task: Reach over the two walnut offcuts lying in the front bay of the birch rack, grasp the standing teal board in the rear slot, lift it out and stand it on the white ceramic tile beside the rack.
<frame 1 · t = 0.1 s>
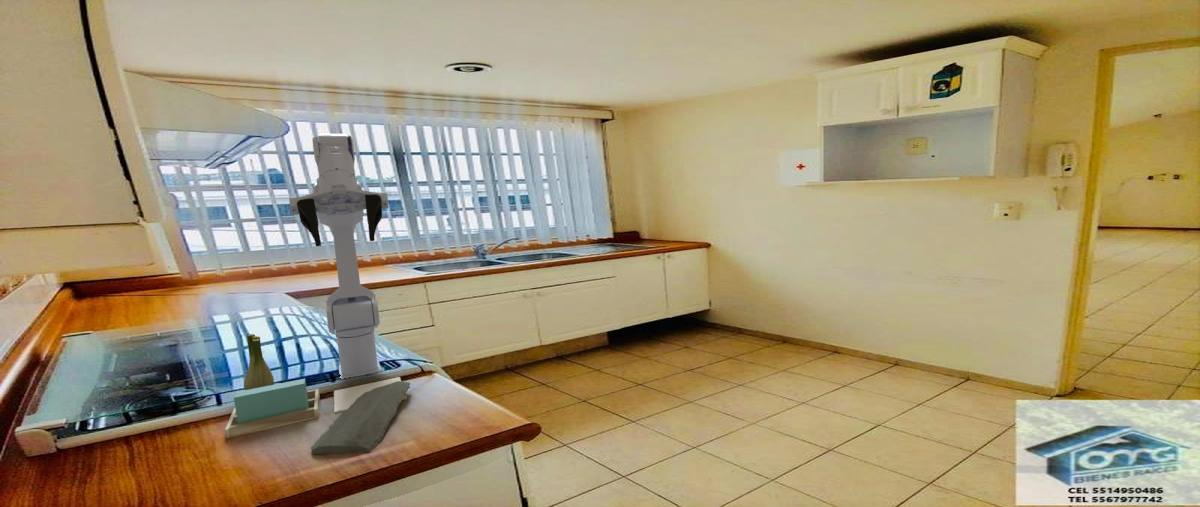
hand: (345, 239, 77), 32 cm above the counter, tool tilted 50°, fingers open, 7 cm apart
fennel bulb: (260, 393, 97), on the counter
stone slab: (368, 418, 84), on the counter, touching tile
tile: (370, 396, 93), on the counter
rack: (277, 417, 86), on the counter
offcut low: (278, 410, 88), resting on rack, touching offcut top
board: (275, 420, 84), resting on rack
offcut top: (281, 403, 88), point 2 cm above the counter, touching offcut low
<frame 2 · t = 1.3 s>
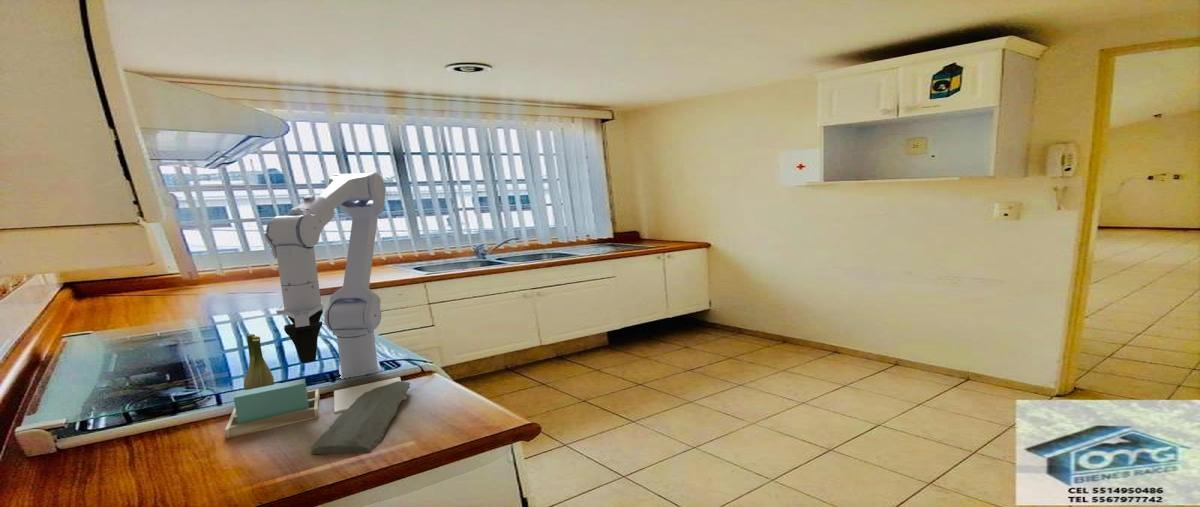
hand: (309, 354, 88), 10 cm above the counter, tool pointing down, fingers open, 7 cm apart
nothing on the counter moved.
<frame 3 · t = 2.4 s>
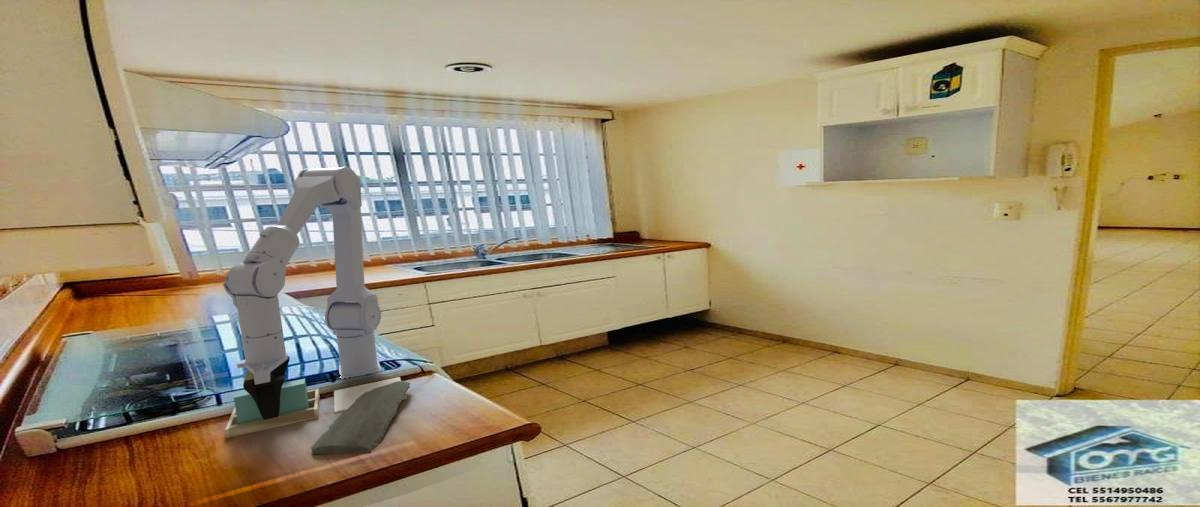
hand: (273, 408, 83), 3 cm above the counter, tool pointing down, fingers open, 7 cm apart
offcut top: (281, 403, 88), point 2 cm above the counter, touching gripper, offcut low
everything else where it was.
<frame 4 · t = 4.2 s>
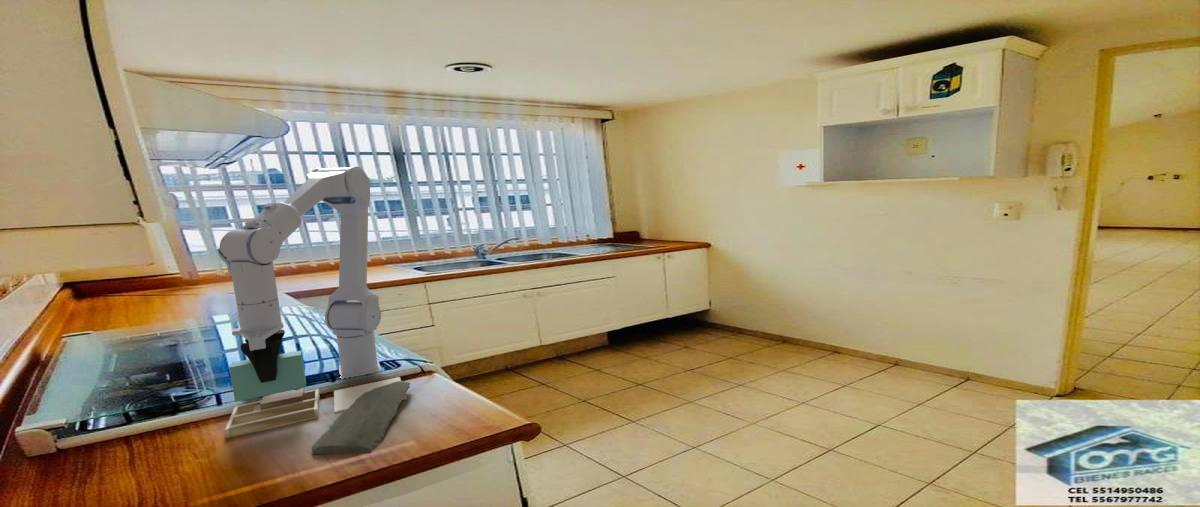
hand: (269, 377, 83), 8 cm above the counter, tool pointing down, fingers closed on board, 2 cm apart
board: (272, 391, 83), point 6 cm above the counter, touching gripper
offcut top: (283, 402, 88), point 2 cm above the counter, touching offcut low
everything else where it was.
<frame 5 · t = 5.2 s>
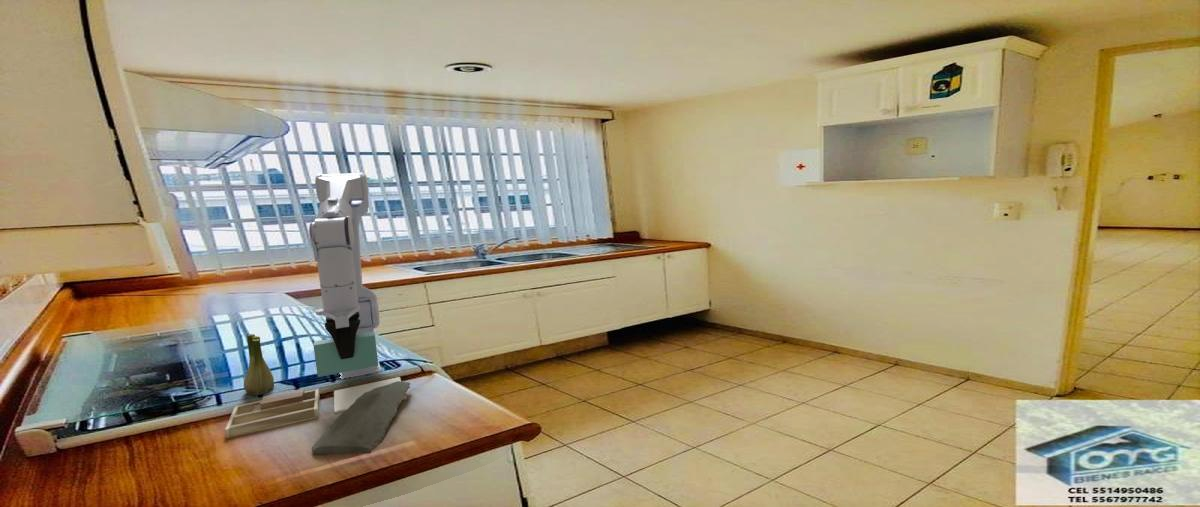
hand: (347, 355, 90), 9 cm above the counter, tool pointing down, fingers closed on board, 2 cm apart
board: (348, 368, 90), point 6 cm above the counter, touching gripper
everything else where it was.
when the fingers open (4 cm above the counter, at t = 6.7 s): board stays where it is, resting on tile.
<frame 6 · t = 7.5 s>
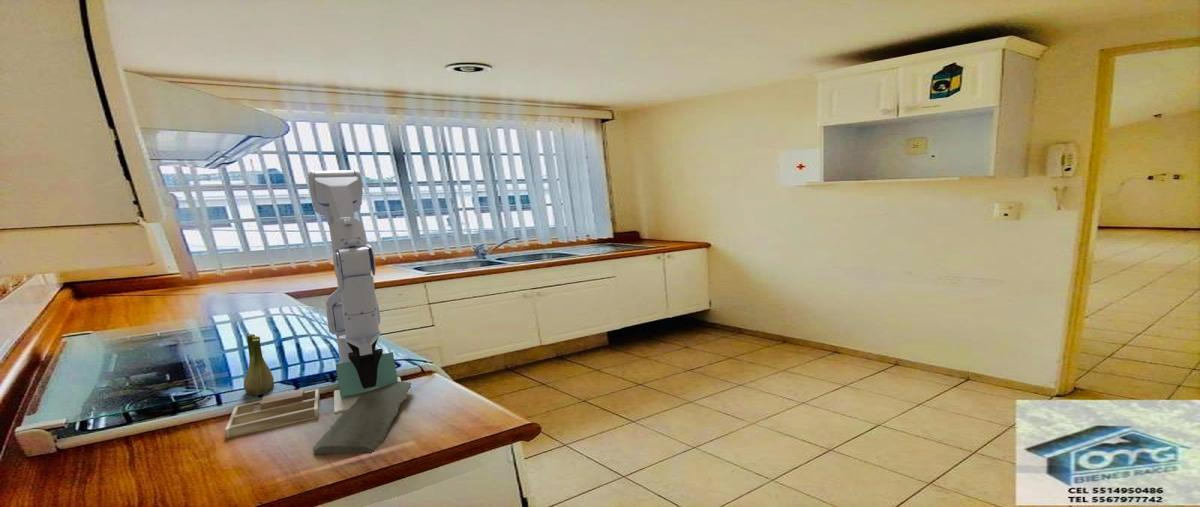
hand: (368, 379, 92), 4 cm above the counter, tool pointing down, fingers open, 7 cm apart
board: (369, 389, 93), point 1 cm above the counter, tilted 22°, touching gripper, tile
everything else where it was.
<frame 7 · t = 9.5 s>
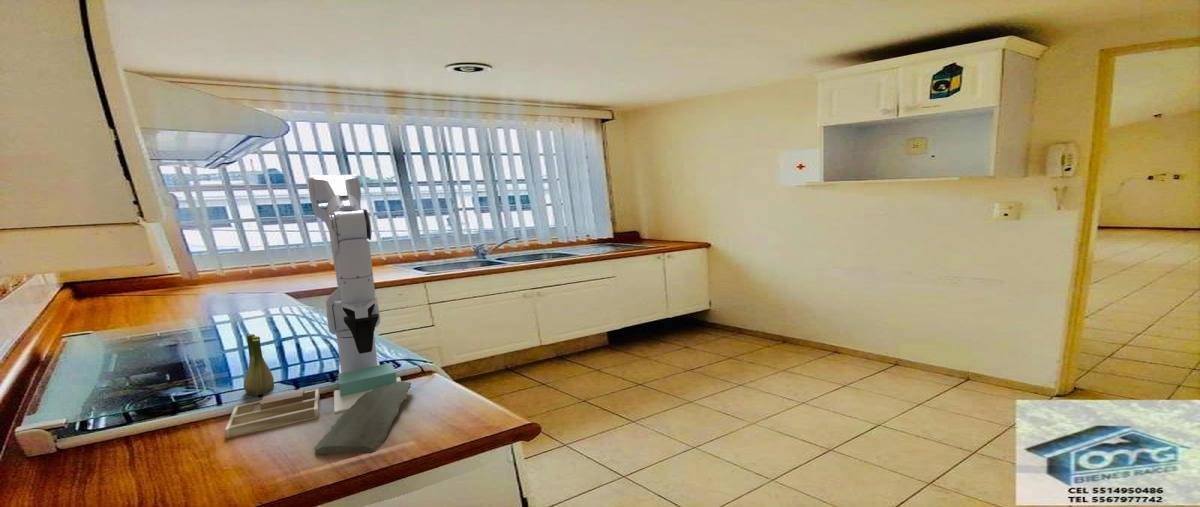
hand: (364, 346, 91), 10 cm above the counter, tool pointing down, fingers open, 7 cm apart
board: (368, 384, 94), point 2 cm above the counter, tilted 90°, touching tile
everything else where it was.
at the end: board inside the target area on the tile (1.4 cm from its centre), point 2.0 cm above the tile's base; board moved 15.5 cm from its start; the gripper is holding nothing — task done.
